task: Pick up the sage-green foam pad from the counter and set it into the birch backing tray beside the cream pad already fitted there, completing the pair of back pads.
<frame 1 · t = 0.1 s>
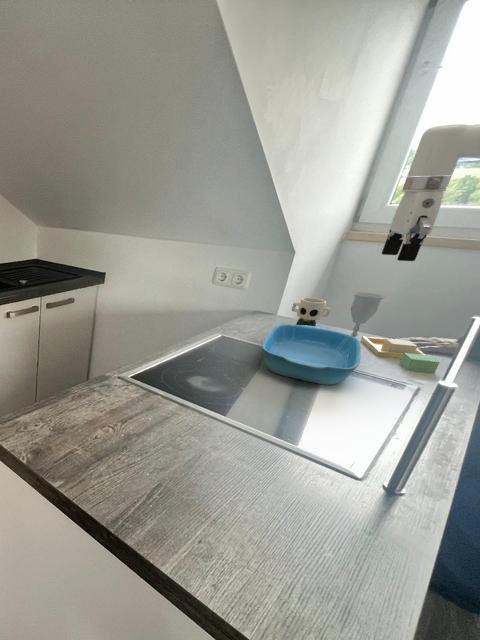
hand: (397, 257, 100), 32 cm above the counter, tool pointing down, fingers open, 9 cm apart
chalice: (348, 348, 128), on the counter
character mug: (302, 335, 140), on the counter
backing tray: (390, 351, 125), on the counter
cream pad: (395, 353, 122), point 1 cm above the counter, touching backing tray
casserole dish: (304, 364, 118), on the counter
green pad: (415, 369, 113), on the counter
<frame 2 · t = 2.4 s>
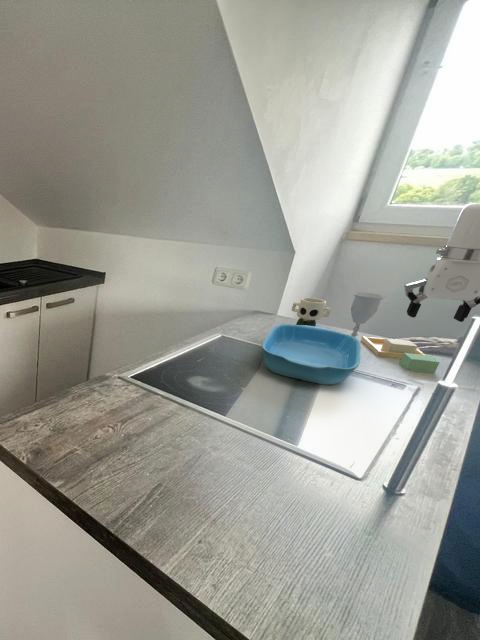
hand: (434, 318, 106), 16 cm above the counter, tool pointing down, fingers open, 9 cm apart
nothing on the counter moved.
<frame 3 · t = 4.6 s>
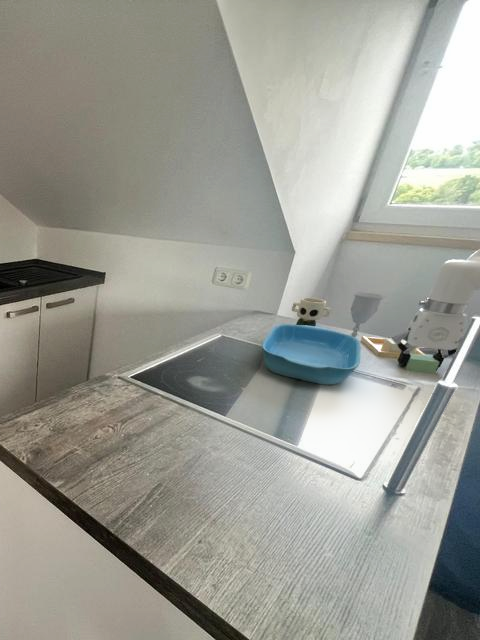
hand: (417, 366, 112), 1 cm above the counter, tool pointing down, fingers closed on green pad, 6 cm apart
green pad: (415, 369, 113), on the counter, touching gripper
everything else where it was.
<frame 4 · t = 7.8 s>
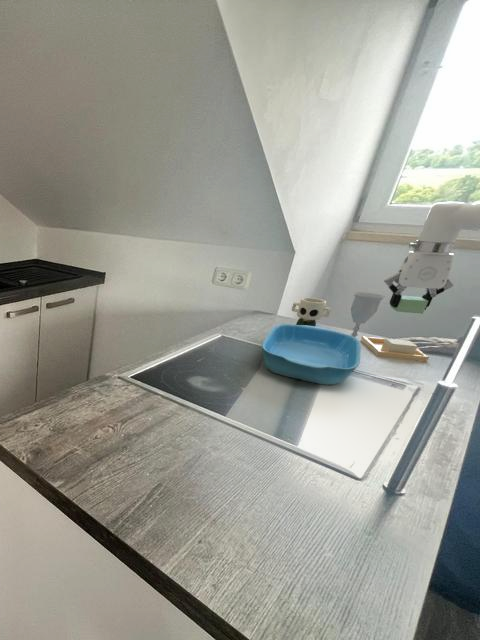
hand: (407, 307, 120), 15 cm above the counter, tool pointing down, fingers closed on green pad, 6 cm apart
green pad: (406, 310, 120), point 14 cm above the counter, touching gripper
everything else where it was.
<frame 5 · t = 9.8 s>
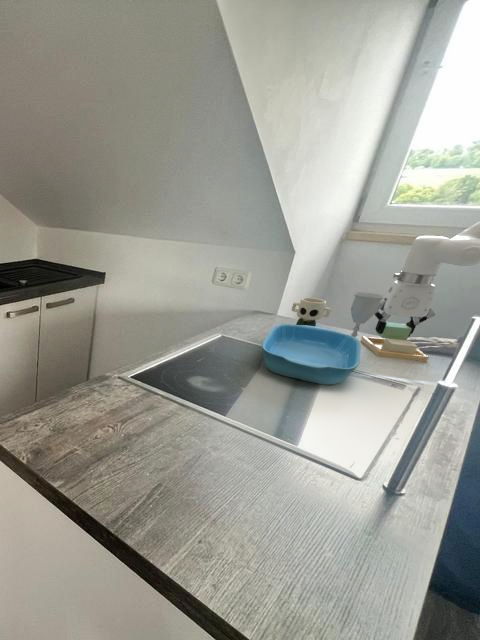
hand: (392, 333, 125), 5 cm above the counter, tool pointing down, fingers closed on green pad, 6 cm apart
green pad: (391, 336, 126), point 4 cm above the counter, touching gripper
everything else where it was.
when the fingers open (2 cm above the counter, at t = 11.3 s): green pad stays where it is, resting on backing tray.
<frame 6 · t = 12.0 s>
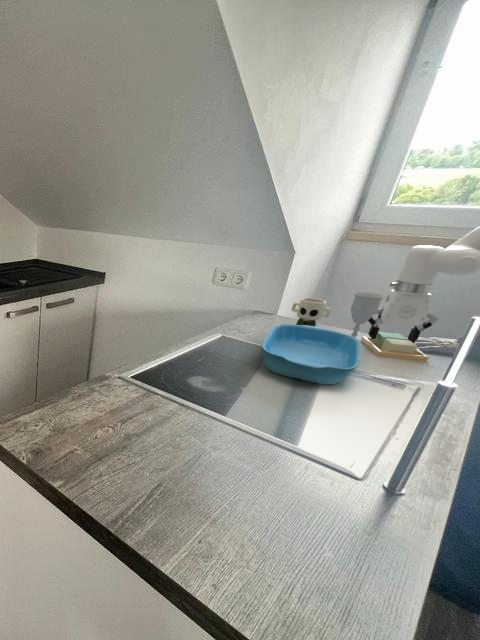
hand: (391, 339, 126), 3 cm above the counter, tool pointing down, fingers open, 9 cm apart
green pad: (387, 346, 127), point 1 cm above the counter, touching backing tray
everything else where it was.
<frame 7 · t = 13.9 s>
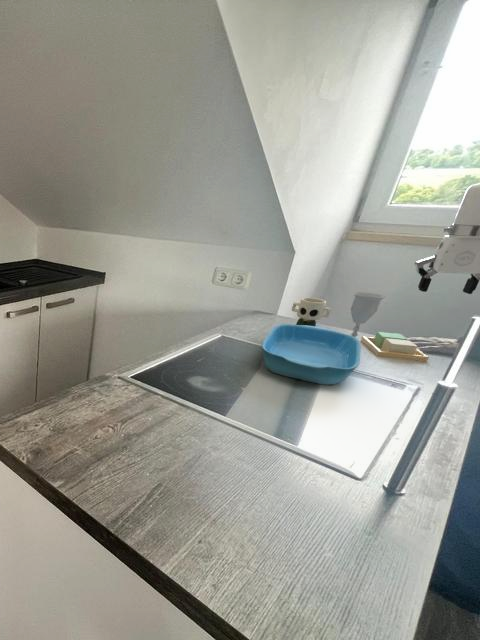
hand: (444, 291, 115), 20 cm above the counter, tool pointing down, fingers open, 9 cm apart
nothing on the counter moved.
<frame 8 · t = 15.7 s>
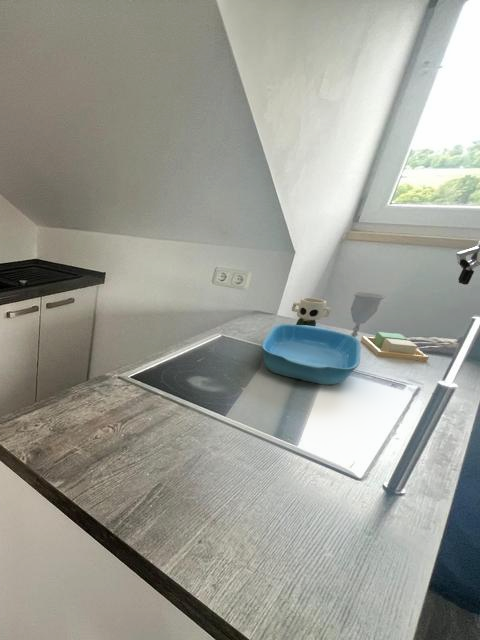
nothing on the counter moved.
at the end: green pad 0.1 cm from the target spot in the backing tray, point 0.6 cm above the backing tray's base; green pad 6.4 cm from the cream pad (horizontally); green pad tilted 0° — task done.
